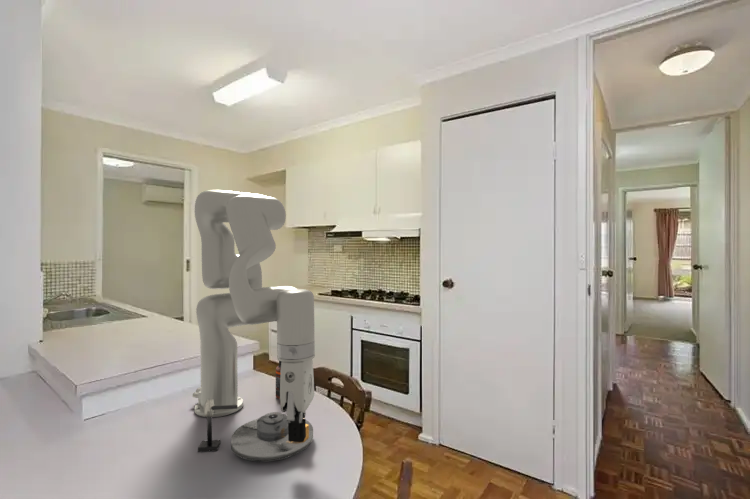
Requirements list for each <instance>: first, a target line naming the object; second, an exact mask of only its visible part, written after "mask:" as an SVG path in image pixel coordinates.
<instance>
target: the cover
mask: <svg viewBox="0 0 750 499" xmlns="http://www.w3.org/2000/svg"><path fill="white" fill-rule="evenodd" d="M257 419H258V420H257V437H258V438H259V439H261V440H264V441H275V440H279V439H282V438H284V437H286V436H287V435H288V421H287V414H284V413H281V412H278V411H274V412H273V411H272V412H269V413H265V414H264V415H262V416H260V417H259V418H257Z"/></svg>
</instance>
